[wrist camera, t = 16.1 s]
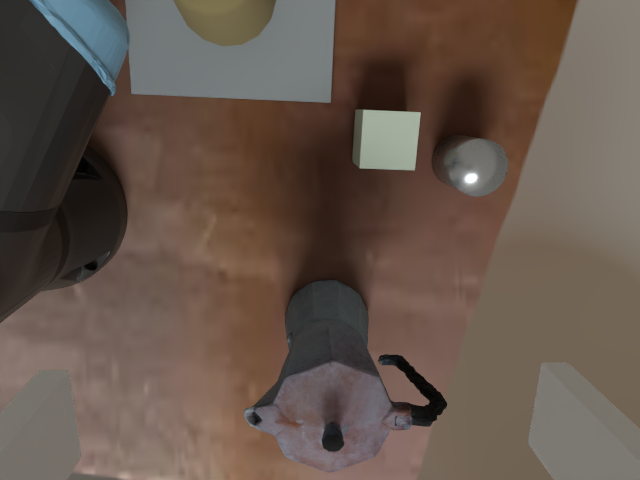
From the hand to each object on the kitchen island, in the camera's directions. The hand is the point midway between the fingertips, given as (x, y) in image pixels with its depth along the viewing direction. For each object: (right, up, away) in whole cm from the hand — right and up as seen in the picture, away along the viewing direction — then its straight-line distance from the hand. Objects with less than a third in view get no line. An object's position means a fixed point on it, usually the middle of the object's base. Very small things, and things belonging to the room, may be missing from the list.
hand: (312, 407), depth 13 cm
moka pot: (+1, -3, +38) cm, 38 cm away
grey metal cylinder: (+14, +13, +34) cm, 38 cm away
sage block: (+6, +15, +32) cm, 36 cm away
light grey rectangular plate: (-7, +26, +28) cm, 39 cm away
